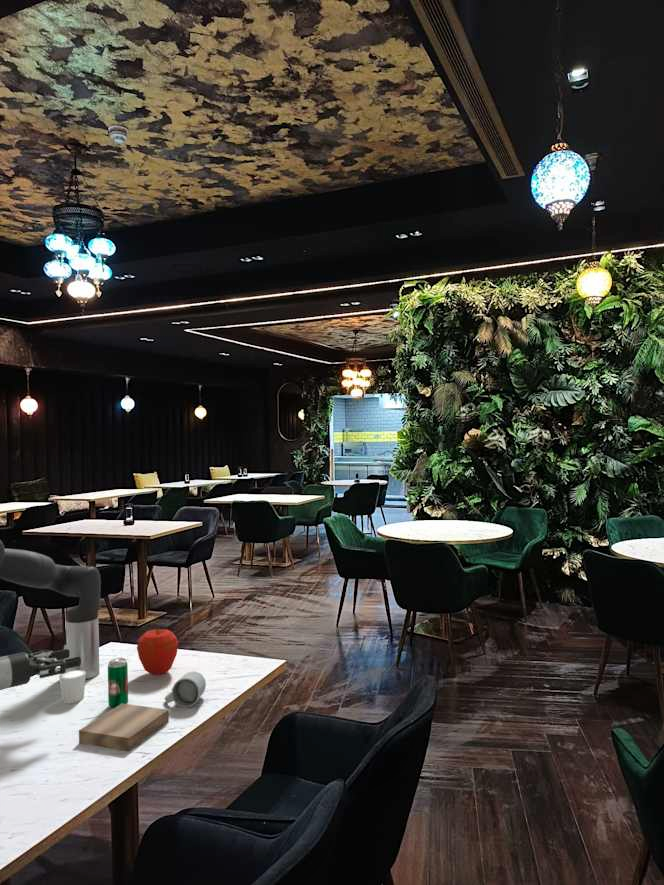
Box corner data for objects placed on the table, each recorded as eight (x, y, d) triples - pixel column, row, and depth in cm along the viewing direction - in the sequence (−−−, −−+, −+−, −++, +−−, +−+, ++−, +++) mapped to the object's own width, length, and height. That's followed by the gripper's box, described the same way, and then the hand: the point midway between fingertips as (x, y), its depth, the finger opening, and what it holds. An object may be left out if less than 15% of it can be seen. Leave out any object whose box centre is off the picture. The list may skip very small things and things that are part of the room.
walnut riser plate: (79, 743, 149) (78, 730, 149) (122, 714, 164) (121, 703, 164) (129, 751, 144) (128, 738, 144) (168, 721, 160) (168, 709, 160)
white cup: (76, 704, 171) (76, 679, 171) (54, 703, 173) (53, 677, 173) (91, 694, 178) (90, 670, 178) (69, 693, 179) (69, 668, 179)
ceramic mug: (207, 695, 176) (206, 667, 176) (199, 707, 168) (198, 678, 168) (170, 696, 176) (169, 668, 176) (160, 708, 168) (159, 679, 168)
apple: (129, 675, 193) (128, 629, 193) (163, 664, 202) (162, 620, 202) (152, 684, 185) (151, 636, 185) (186, 672, 194) (185, 626, 194)
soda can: (104, 707, 169) (103, 662, 169) (118, 700, 174) (117, 656, 174) (118, 710, 167) (117, 665, 167) (132, 703, 172) (131, 659, 172)
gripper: (14, 663, 147) (84, 648, 158) (-2, 649, 158) (65, 636, 168) (14, 695, 147) (84, 678, 157) (-2, 680, 157) (65, 664, 168)
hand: (74, 656), depth 163 cm, fingers open, 8 cm apart
